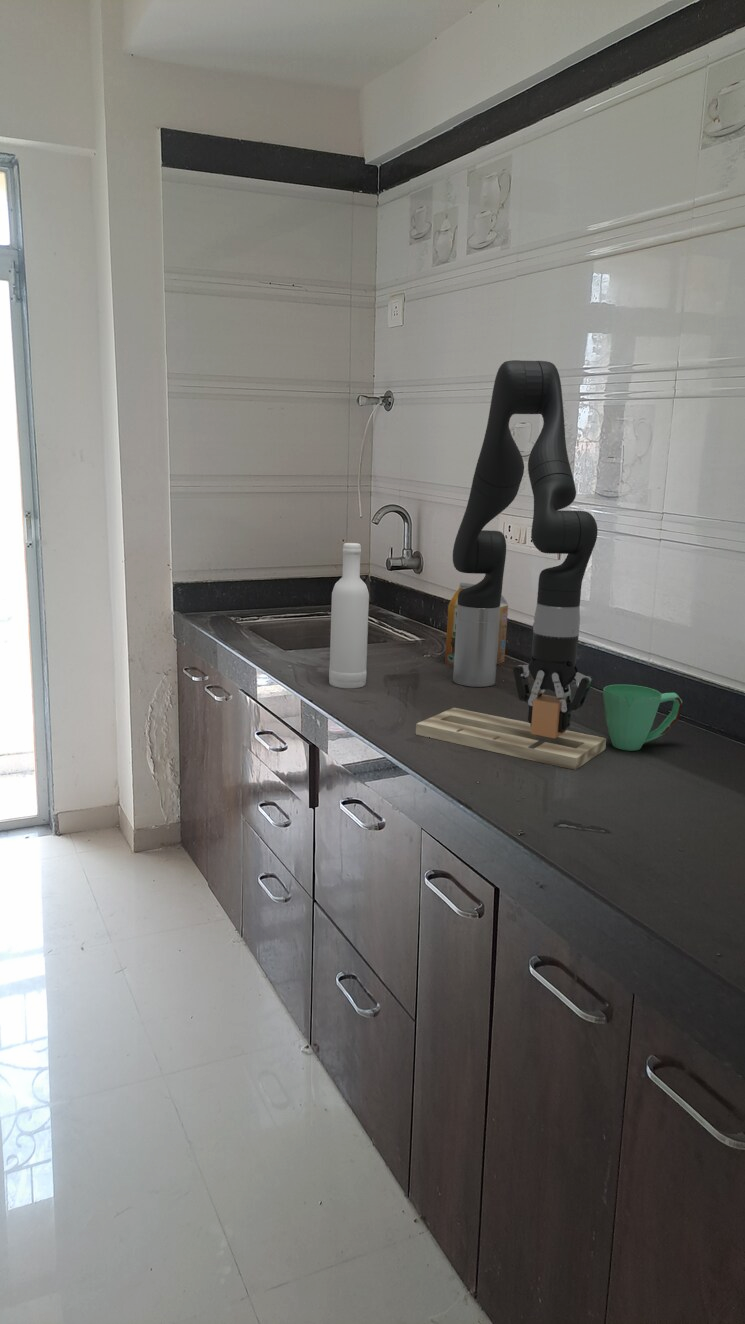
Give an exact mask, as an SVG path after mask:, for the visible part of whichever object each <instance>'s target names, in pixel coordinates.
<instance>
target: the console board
mask: <svg viewBox="0 0 745 1324" xmlns="http://www.w3.org/2000/svg"><path fill="white" fill-rule="evenodd" d="M415 735H417V736H421V737H425V738H429V737H430V739H433V740H439V741H444V742H448V743H453V744H457V745H461V746H465V747H470V748H475V749H478V750H484V751H488V752H493V753H498V754H501V755H506V756H510V757H515V758H519V759H524V760H528V761H529V760H530V761H534V762H536V763H537V762H538V763H542V764H545V765H546V764H547V765H552V766H554V767H555V766H556V767H561V768H565V769H569V770H574V771H576V770H578V769H579V768H581V767H583V765H585V764H586V763H587V762H589V761H591V760H592V759H594V758H595V757H596V756H598V755H599V754H601V753H602V752H604V751H605V750H606V748H607V747H606V745H607V738H606V737H602V736H597V735H592V734H586V733H582V732H577V731H571V730H568V729H567V730H566V731H565V733H563V734H562V735H560V736H558V744H553V743H548V742H545V741H541V740H536V739H537V735H536V734H531V723H529V722H527V721H522V720H518V719H511V718H508V717H503V716H498V715H492V714H488V713H483V712H482V713H481V712H477V711H472V710H467V709H462V708H459V707H452V708H450V709H447V710H445V711H443V712H440V713H438V714H436V715H433V716H431V717H428V718H426V719H424V720H422V721H419V722H417V723H416V725H415Z"/></svg>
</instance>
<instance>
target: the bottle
mask: <svg viewBox="0 0 745 1324" xmlns="http://www.w3.org/2000/svg"><path fill="white" fill-rule="evenodd" d="M342 545H343V546H342V550H341V551H342V573H341V575H342V576H341V577H340V578H339V580H338V581H336V583H335V584H334V586H333V589H332V592H331V613H330V643H329V644H330V645H329V648H330V649H329V650H330V651H329V669H328V679H329V680H328V681H329V685H330V686H331V687H334V688H339V689H359V688H363V687H365V686H366V683H367V682H366V681H367V672H368V671H367V658H368V655H367V654H368V634H369V633H368V632H369V605H370V603H369V601H370V592H369V590H368V585H367V584H366V583H365V582H364V580H362V578H361V577H360V575H361V553H362V547H361V545H362V544H360V543H358V542H345V543H343V544H342Z"/></svg>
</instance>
